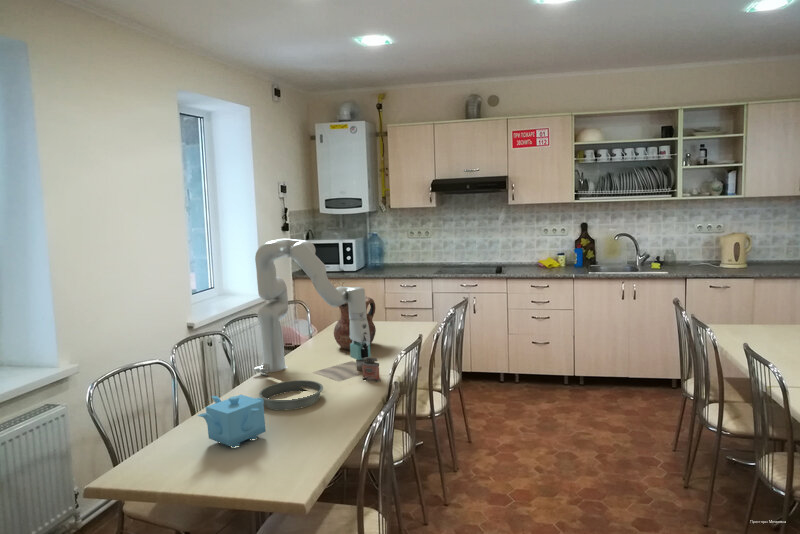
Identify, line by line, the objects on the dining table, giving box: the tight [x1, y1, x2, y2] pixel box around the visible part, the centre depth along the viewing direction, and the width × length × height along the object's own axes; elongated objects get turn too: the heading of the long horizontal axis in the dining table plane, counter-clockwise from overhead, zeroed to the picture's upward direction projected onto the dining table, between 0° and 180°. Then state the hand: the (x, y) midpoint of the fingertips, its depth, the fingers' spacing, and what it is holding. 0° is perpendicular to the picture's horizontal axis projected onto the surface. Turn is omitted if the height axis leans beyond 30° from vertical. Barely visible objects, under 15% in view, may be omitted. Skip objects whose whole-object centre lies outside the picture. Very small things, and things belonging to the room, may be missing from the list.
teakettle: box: [197, 394, 267, 447], centre depth 201 cm, size 19×19×15 cm
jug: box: [333, 296, 377, 351], centre depth 312 cm, size 22×21×25 cm
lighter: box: [362, 356, 381, 383], centre depth 257 cm, size 8×3×10 cm, turn 62°
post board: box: [312, 359, 365, 382], centre depth 268 cm, size 22×20×6 cm
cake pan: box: [258, 379, 324, 411], centre depth 238 cm, size 25×25×4 cm
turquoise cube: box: [349, 341, 372, 360], centre depth 267 cm, size 6×6×6 cm
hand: (360, 355), depth 267 cm, fingers closed on turquoise cube, 6 cm apart
